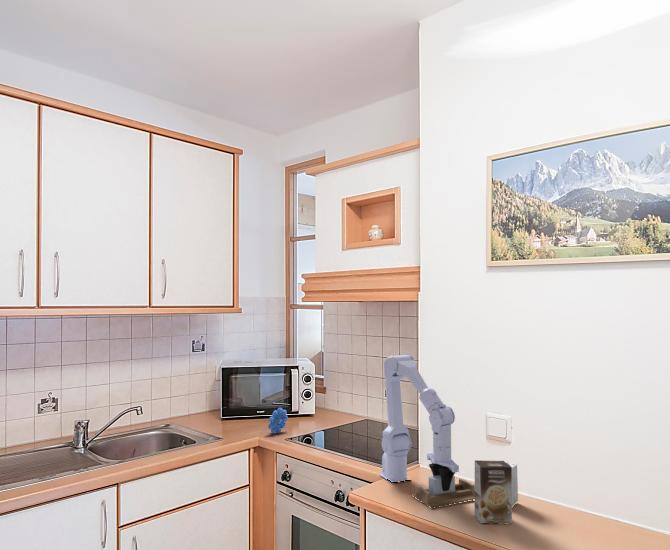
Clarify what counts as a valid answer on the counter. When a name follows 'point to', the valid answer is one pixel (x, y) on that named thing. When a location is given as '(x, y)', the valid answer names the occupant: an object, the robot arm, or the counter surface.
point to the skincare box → (514, 483)
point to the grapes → (278, 420)
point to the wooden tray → (447, 495)
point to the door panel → (439, 485)
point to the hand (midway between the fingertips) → (442, 488)
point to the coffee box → (493, 492)
